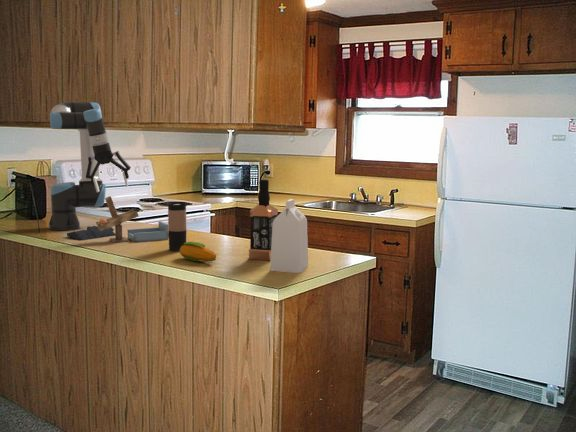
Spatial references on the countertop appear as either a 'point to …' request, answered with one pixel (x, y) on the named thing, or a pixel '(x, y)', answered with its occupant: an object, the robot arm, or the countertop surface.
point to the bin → (149, 233)
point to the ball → (102, 221)
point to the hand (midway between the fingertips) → (112, 188)
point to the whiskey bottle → (262, 225)
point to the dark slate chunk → (91, 233)
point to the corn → (196, 252)
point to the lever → (116, 216)
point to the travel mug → (176, 225)
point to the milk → (289, 240)
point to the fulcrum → (118, 235)
